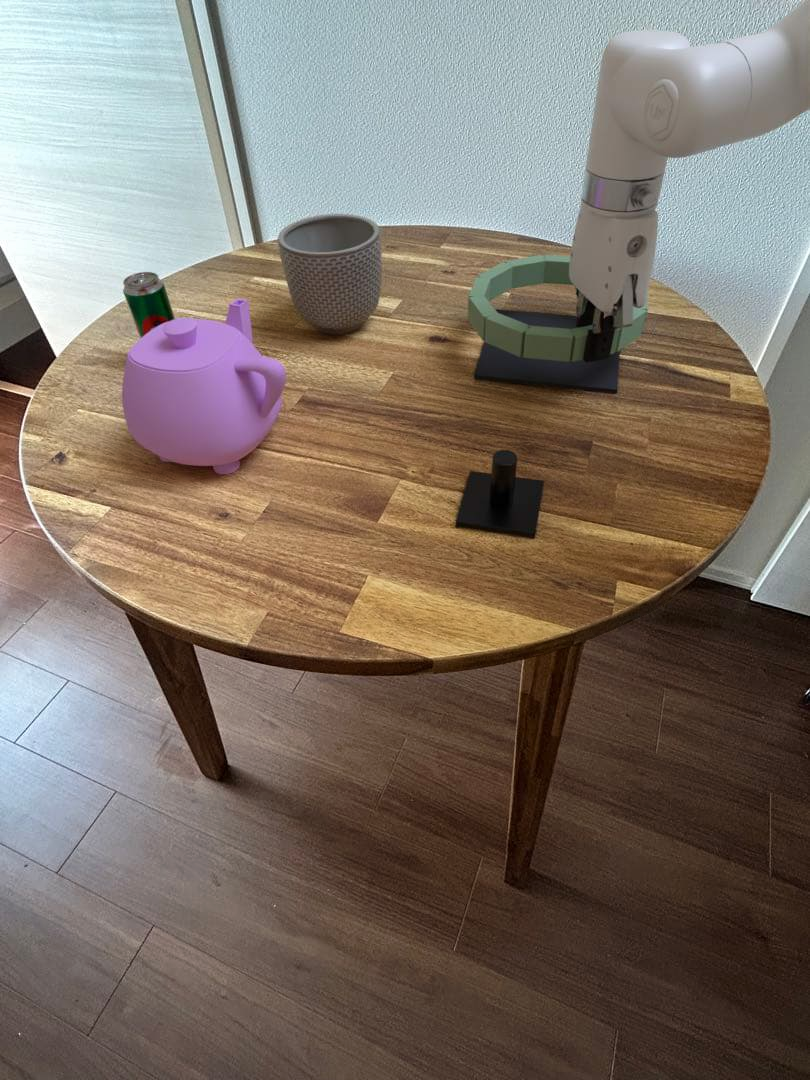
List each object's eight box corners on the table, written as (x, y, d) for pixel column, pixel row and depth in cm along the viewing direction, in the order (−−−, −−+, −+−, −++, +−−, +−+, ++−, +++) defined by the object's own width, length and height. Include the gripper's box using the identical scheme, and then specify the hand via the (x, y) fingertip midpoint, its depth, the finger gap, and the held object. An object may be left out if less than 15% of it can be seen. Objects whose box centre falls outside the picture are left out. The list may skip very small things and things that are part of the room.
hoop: (642, 283, 90) (647, 260, 87) (641, 368, 75) (647, 343, 73) (485, 273, 94) (486, 250, 92) (455, 351, 80) (455, 327, 77)
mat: (620, 323, 92) (621, 319, 92) (616, 393, 81) (617, 389, 80) (495, 312, 96) (495, 308, 96) (473, 378, 84) (473, 374, 84)
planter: (386, 345, 91) (380, 251, 82) (288, 349, 91) (270, 257, 82) (387, 299, 100) (381, 210, 91) (297, 303, 101) (283, 215, 91)
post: (543, 485, 69) (550, 437, 65) (534, 538, 64) (542, 490, 59) (469, 476, 71) (471, 427, 66) (455, 526, 66) (456, 478, 61)
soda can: (195, 359, 90) (169, 275, 82) (169, 377, 88) (139, 291, 79) (170, 350, 92) (142, 267, 84) (143, 367, 89) (111, 283, 81)
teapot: (343, 401, 82) (328, 285, 71) (268, 504, 69) (236, 383, 58) (209, 377, 87) (176, 266, 76) (117, 469, 74) (61, 352, 63)
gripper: (700, 211, 60) (653, 382, 73) (616, 159, 71) (588, 317, 84) (626, 222, 59) (592, 395, 72) (552, 169, 69) (534, 327, 83)
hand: (590, 352), depth 78 cm, fingers closed on hoop, 2 cm apart
